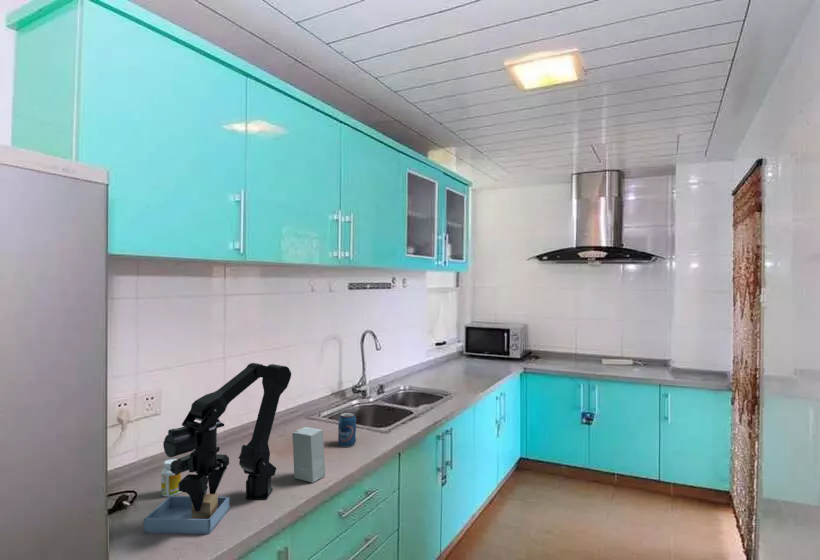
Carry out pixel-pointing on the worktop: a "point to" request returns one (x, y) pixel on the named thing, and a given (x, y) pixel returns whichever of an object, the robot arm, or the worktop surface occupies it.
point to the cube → (206, 507)
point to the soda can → (347, 429)
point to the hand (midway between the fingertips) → (205, 503)
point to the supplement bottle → (169, 480)
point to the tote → (183, 517)
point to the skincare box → (308, 454)
